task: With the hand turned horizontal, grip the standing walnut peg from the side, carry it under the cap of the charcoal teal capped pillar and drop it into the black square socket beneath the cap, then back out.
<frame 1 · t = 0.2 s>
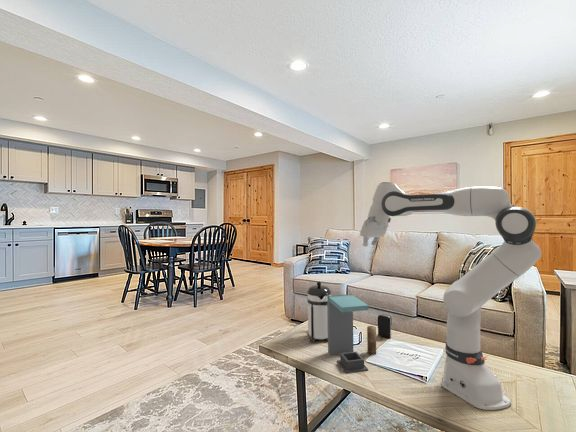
hand: (369, 245, 136), 51 cm above the table, fingers open, 8 cm apart
coffee press: (318, 337, 158), on the table
teal capped pillar: (347, 360, 132), on the table
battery: (385, 336, 158), on the table
peg: (371, 352, 139), on the table
socket: (352, 365, 127), on the table
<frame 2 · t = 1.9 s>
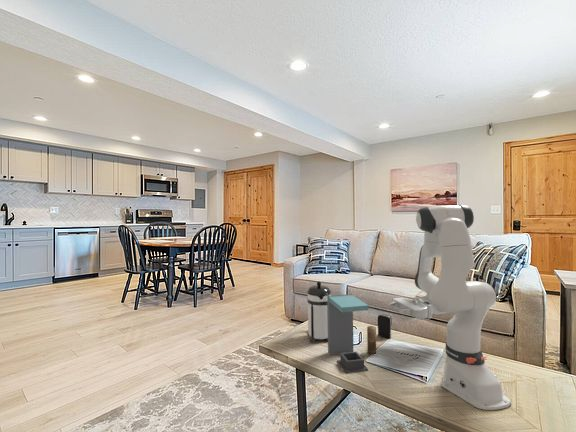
hand: (394, 308, 141), 20 cm above the table, fingers open, 8 cm apart
nothing on the table moved.
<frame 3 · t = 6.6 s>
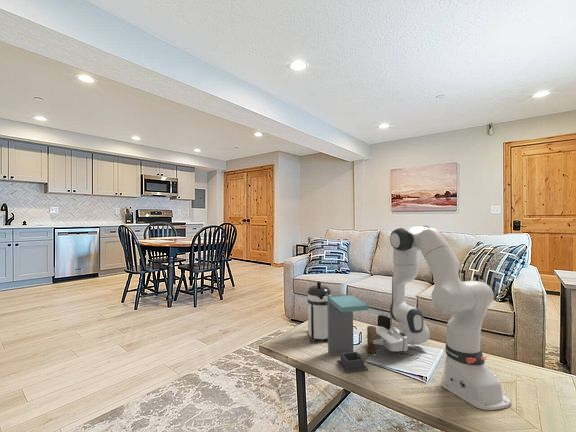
hand: (370, 339, 139), 7 cm above the table, fingers closed on peg, 4 cm apart
peg: (371, 352, 139), on the table, touching gripper
everything else where it was.
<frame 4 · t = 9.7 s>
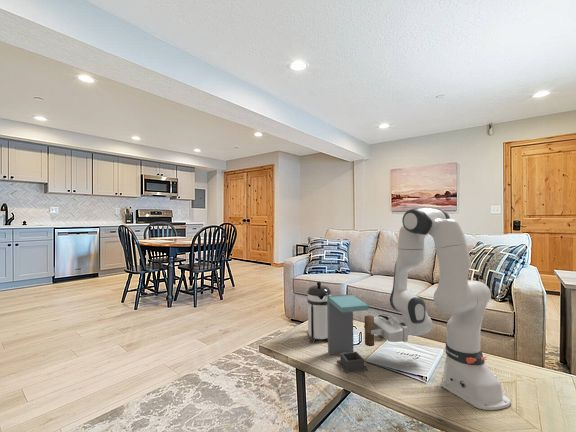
hand: (367, 329, 129), 15 cm above the table, fingers closed on peg, 4 cm apart
peg: (369, 344, 129), point 8 cm above the table, touching gripper
everything else where it was.
when the fingers open (9 cm above the table, at t = 13.1 s): peg drops 1 cm, resting on socket.
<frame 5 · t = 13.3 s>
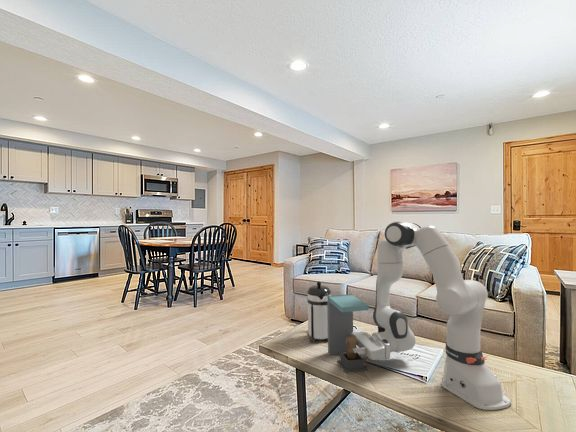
hand: (349, 346, 127), 9 cm above the table, fingers open, 6 cm apart
peg: (352, 364, 127), point 1 cm above the table, touching socket
everything else where it was.
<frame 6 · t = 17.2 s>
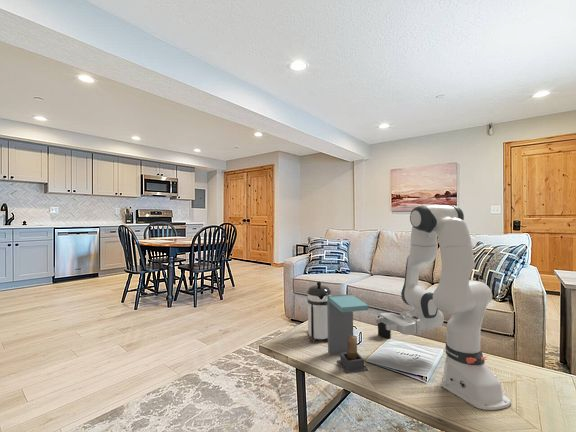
hand: (380, 324, 131), 17 cm above the table, fingers open, 8 cm apart
nothing on the table moved.
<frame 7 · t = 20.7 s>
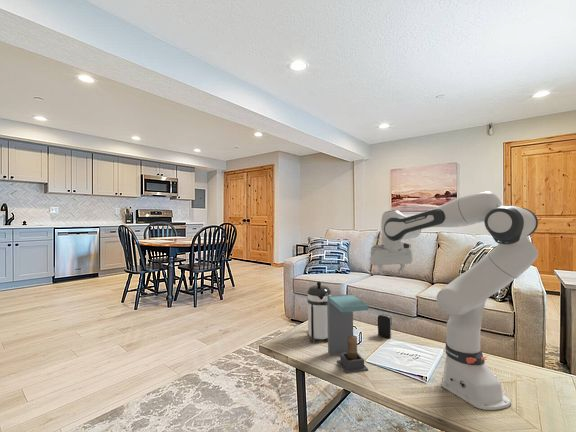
hand: (391, 273, 140), 37 cm above the table, fingers open, 8 cm apart
nothing on the table moved.
at the end: peg 0.0 cm off-centre on the socket, point 0.7 cm above the socket's base; peg tilted 2°; the gripper is holding nothing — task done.
